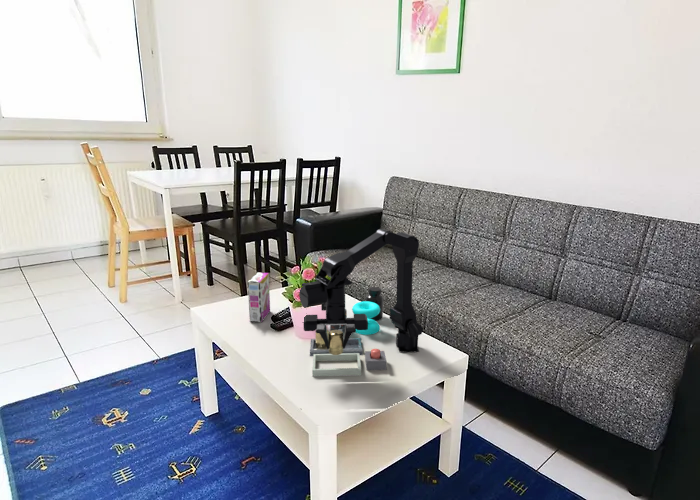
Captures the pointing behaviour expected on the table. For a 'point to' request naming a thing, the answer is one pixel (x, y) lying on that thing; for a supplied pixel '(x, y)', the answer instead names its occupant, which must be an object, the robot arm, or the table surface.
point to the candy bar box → (259, 297)
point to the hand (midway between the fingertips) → (335, 348)
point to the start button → (375, 354)
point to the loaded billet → (320, 341)
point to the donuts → (368, 316)
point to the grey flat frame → (351, 347)
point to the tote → (337, 370)
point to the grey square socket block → (375, 361)
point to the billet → (335, 342)
